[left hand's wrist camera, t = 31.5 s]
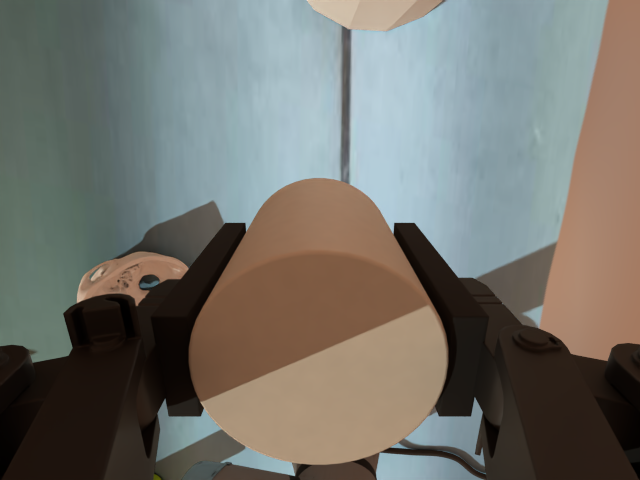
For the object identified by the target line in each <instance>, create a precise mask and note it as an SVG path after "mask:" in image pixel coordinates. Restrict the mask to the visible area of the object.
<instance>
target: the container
mask: <svg viewBox="0 0 640 480" xmlns="http://www.w3.org/2000/svg"><path fill="white" fill-rule="evenodd" d="M307 1H308V3H309V4H310V5H311V6H312V8H313V9H314V10H315V11H317V12H318V13H320V14H322V15H324V16H326V17H327V18H329V19H331V20H333V21H335V22H337V23H338V24H340V25H342V26H344V27H346V28H348V29H355V30H372V31H388V30H391V29H393V28H396V27H399V26H401V25H404V24H406V23H409V22H411V21H414V20H416V19H419V18H421V17H423V16H425V15H426V14H427V13H428V12H430V11H431V10H432V9H433V8H434V7H436V6H437V5H438V4H439V3H440V2H442V1H443V0H307Z"/></svg>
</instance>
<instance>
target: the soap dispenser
mask: <svg viewBox="0 0 640 480" xmlns="http://www.w3.org/2000/svg"><path fill="white" fill-rule="evenodd" d="M153 480H162V479H161V478H160V477H159V476H157V475H155V474H154V478H153Z"/></svg>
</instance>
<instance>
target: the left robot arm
mask: <svg viewBox="0 0 640 480" xmlns="http://www.w3.org/2000/svg"><path fill="white" fill-rule="evenodd" d="M245 234H246V225H245V223H225V224H224V225H223V227H222V228H221V229H220V230H219V232H218V233H217V234H216V235H215V237H214V238H213V239H212V240H211V242H210V243H209V244H208V245H207V247H206V248H205V249H204V250H203V252H202V253H201V254H200V255H199V257H198V258H197V259H196V260H195V262H194V263H193V264H192V265H191V267H190V268H189V269H188V270H187V272H186V273H185V274H184V275H183V277H182V278H181V279H167V280H165V281H163V282H161V283H160V284H158V285H156V286H154V287H153V288H152V289H151V290H150V291H149V292H148V294H147V295H146V296H145V298H143V299H142V300H141V301H140V302H139V303H138V306H136V303H135V299H134V298H133V297H131V296H130V295H127V294H121V293H115V294H104V295H99V296H94V297H91V298H88V299H85V300H83V301H80V302H78V303H77V304H75V305H73V306H71V307H70V308H69V309H68V310H66V311H65V312H64V313H63V315H64V318H65V322H66V325H67V329H68V333H69V336H70V340H71V343H72V347H73V349H72V350H71V352H70V354H69V356H66V357H61V358H56V359H51V360H45V361H40V362H35V363H32V360H31V357H30V354H29V351H28V349H26V348H25V347H23V346H17V345H7V346H0V480H153V478H154V470H155V463H156V456H157V449H158V441H159V434H160V425H159V419H158V414H157V413H158V411H159V409H160V407H161V405H162V403H163V401H164V399H166V404H167V409H168V415H169V416H201V414H202V412H203V409H204V407H203V406H202V404H201V402H200V400H199V398H198V396H197V394H196V392H195V389H194V386H193V383H192V379H191V375H190V368H189V344H190V338H191V333H192V330H193V327H194V324H195V321H196V319H197V317H198V315H199V313H200V311H201V310H202V308H203V306H204V304H205V302H206V301H207V299H208V297H209V296H210V294H211V292H212V290H213V289H214V287H215V285H216V283H217V282H218V280H219V278H220V277H221V275H222V273H223V271H224V270H225V268H226V266H227V265H228V263H229V261H230V259H231V258H232V256H233V254H234V252H235V251H236V249H237V247H238V246H239V244H240V242H241V240H242V239H243V237H244V235H245ZM394 237H395V239H396V240H397V242H398V244H399V246H400V247H401V249H402V251H403V253H404V254H405V256H406V258H407V260H408V262H409V263H410V265H411V267H412V269H413V270H414V272H415V274H416V276H417V277H418V279H419V281H420V283H421V285H422V286H423V288H424V290H425V292H426V293H427V295H428V297H429V299H430V300H431V302H432V304H433V306H434V308H435V309H436V311H437V313H438V315H439V317H440V319H441V321H442V324H443V327H444V330H445V333H446V337H447V343H448V360H449V362H448V369H447V376H446V380H445V384H444V387H443V390H442V392H441V395H440V397H439V399H438V401H437V403H436V405H435V407H436V410H437V412H438V415H439V416H471V413H472V408H473V403H474V397H475V398H476V400H477V402H478V404H479V405H480V407H481V409H482V411H483V414H482V419H481V424H480V429H479V434H478V439H477V444H476V451H475V454H476V455H480V454H481V449H482V448H483V455H484V462H485V469H486V474H483V473H480V472H478V471H476V470H475V469H473V468H472V467H471V466H470V465H469V464H467V463H466V462H465V461H464V460H463V459H461V458H460V457H458V456H456V455H454V454H451V453H448V452H443V451H437V450H415V449H402V448H390V447H389V448H387V449H386V450H384V451H381V453H391V454H404V455H422V456H439V457H445V458H449V459H452V460H454V461H456V462H458V463H459V464H461V465H462V466H463V467H464V468H465V469H467V470H468V471H469V472H470V473H471V474H473V475H475V476H477V477H479V478H481V479H484V480H640V345H639V344H631V343H625V344H617V345H616V346H614V347H613V348H612V349H611V353H610V356H609V359H608V361H604V360H598V359H593V358H587V357H582V356H577V355H573V354H571V353H570V352H569V350H568V348H567V347H566V346H565V344H564V343H563V342H562V341H561V340H560V339H558V338H557V337H555V336H554V335H552V334H550V333H548V332H546V331H543V330H541V329H538V328H534V327H530V326H526V325H522V324H521V323H520V322H519V320H518V319H517V318H516V317H515V316H514V315H513V314H512V313H511V312H510V311H509V310H508V309H507V307H506V306H505V305H504V304H502V302H501V301H500V300H499V299H498V298H497V297H495V294H494V293H493V292H492V291H491V290H490V289H489V288H488V287H487V286H486V285H484V284H483V283H481V282H479V281H477V280H475V279H474V278H458V277H457V276H456V274H455V273H454V272H453V271H452V269H451V268H450V267H449V266H448V264H447V263H446V262H445V261H444V259H443V258H442V257H441V256H440V254H439V253H438V252H437V251H436V249H435V248H434V247H433V246H432V244H431V243H430V242H429V241H428V239H427V238H426V237H425V236H424V234H423V233H422V232H421V231H420V229H419V228H418V227H417V226H416V224H415V223H394ZM379 453H380V452H379ZM379 453H376V454H374V455H372V456H369V457H365V458H362V459H359V460H355V461H350V462H345V463H338V464H327V465H310V464H300V463H293V462H292V465H293V468H294V472H295V476H291V475H287V474H281V473H276V472H270V471H265V470H260V469H254V468H249V467H244V466H238V465H233V464H232V463H231V462H225V463H218V462H211V461H201V462H198V463H196V464H195V465H193V466H192V467H191V468H190V469H189V470H188V471H187V472H186V474H185V475H184V477H183V478H182V480H377V478H376V469H377V464H378V458H379Z"/></svg>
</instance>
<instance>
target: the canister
mask: <svg viewBox="0 0 640 480" xmlns="http://www.w3.org/2000/svg"><path fill="white" fill-rule="evenodd" d="M448 362H449V360H448V343H447V337H446V333H445V330H444V327H443V324H442V321H441V319H440V317H439V315H438V313H437V311H436V309H435V308H434V306H433V304H432V302H431V300H430V299H429V297H428V295H427V293H426V292H425V290H424V288H423V286H422V285H421V283H420V281H419V279H418V277H417V276H416V274H415V272H414V270H413V269H412V267H411V265H410V263H409V262H408V260H407V258H406V256H405V254H404V253H403V251H402V249H401V247H400V246H399V244H398V242H397V240H396V239H395V237H394V235H393V233H392V231H391V230H390V228H389V226H388V224H387V223H386V221H385V219H384V217H383V215H382V214H381V212H380V210H379V209H378V207H377V206H376V205H375V203H374V202H373V201H372V200H371V199H370V198H369V197H368V196H367V195H365V194H364V193H363V192H362V191H360V190H359V189H357V188H355V187H353V186H351V185H349V184H347V183H344V182H341V181H337V180H334V179H326V178H313V179H305V180H301V181H297V182H294V183H292V184H289V185H287V186H285V187H283V188H282V189H280V190H278V191H277V192H276V193H274V194H273V195H272V196H271V197H270V198H269V199H268V200H267V201H266V202H265V203H264V204H263V205H262V207H261V208H260V210H259V211H258V213H257V215H256V216H255V218H254V220H253V221H252V223H251V225H250V227H249V228H248V230H247V232H246V234H245V235H244V237H243V239H242V240H241V242H240V244H239V246H238V247H237V249H236V251H235V252H234V254H233V256H232V258H231V259H230V261H229V263H228V265H227V266H226V268H225V270H224V271H223V273H222V275H221V277H220V278H219V280H218V282H217V283H216V285H215V287H214V289H213V290H212V292H211V294H210V296H209V297H208V299H207V301H206V302H205V304H204V306H203V308H202V310H201V311H200V313H199V315H198V317H197V319H196V321H195V324H194V327H193V330H192V333H191V338H190V344H189V368H190V375H191V379H192V383H193V386H194V389H195V392H196V394H197V396H198V398H199V400H200V402H201V404H202V406H203V407H204V408H205V410H206V411H207V413H208V414H209V416H210V417H211V418H212V419H213V420H214V421H215V423H216V424H217V425H218V426H219V427H220V428H221V429H223V430H224V431H225V432H226V433H227V434H228V435H229V436H231V437H232V438H234V439H235V440H237V441H238V442H239V443H241V444H243V445H245V446H246V447H248V448H250V449H252V450H254V451H256V452H259V453H261V454H264V455H266V456H269V457H272V458H276V459H279V460H283V461H288V462H293V463H300V464H310V465H327V464H338V463H345V462H350V461H355V460H359V459H362V458H365V457H369V456H372V455H374V454H376V453H379V452H381V451H384V450H386V449H387V448H389V447H391V446H393V445H395V444H397V443H398V442H399V441H401V440H402V439H404V438H405V437H407V436H408V435H409V434H410V433H412V432H413V431H414V430H415V429H416V428H417V427H418V426H419V425H420V424H421V423H422V422H423V421H424V420H425V419H426V417H427V416H428V415H429V414H430V412H431V411H432V409H433V408H434V406H435V405H436V403H437V401H438V399H439V397H440V395H441V392H442V390H443V387H444V384H445V380H446V376H447V369H448Z"/></svg>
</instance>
